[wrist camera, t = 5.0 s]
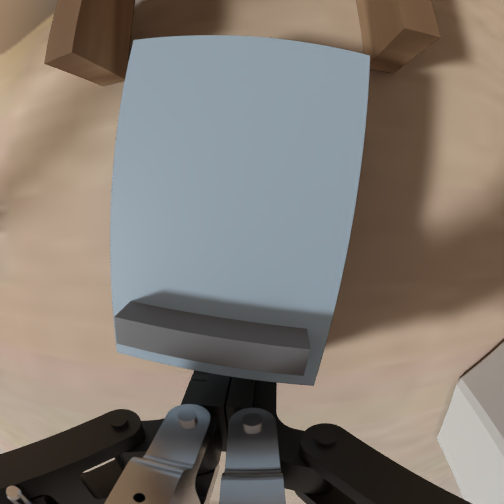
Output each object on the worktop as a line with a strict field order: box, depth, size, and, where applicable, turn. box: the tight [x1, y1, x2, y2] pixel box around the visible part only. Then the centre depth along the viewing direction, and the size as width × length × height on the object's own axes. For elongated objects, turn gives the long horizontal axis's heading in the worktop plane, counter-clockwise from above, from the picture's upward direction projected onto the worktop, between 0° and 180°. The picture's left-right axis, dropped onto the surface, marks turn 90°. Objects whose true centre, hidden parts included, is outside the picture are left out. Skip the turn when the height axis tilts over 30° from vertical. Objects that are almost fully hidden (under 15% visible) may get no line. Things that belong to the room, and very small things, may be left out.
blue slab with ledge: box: [110, 35, 370, 386], centre depth 9 cm, size 6×9×6 cm, turn 173°
